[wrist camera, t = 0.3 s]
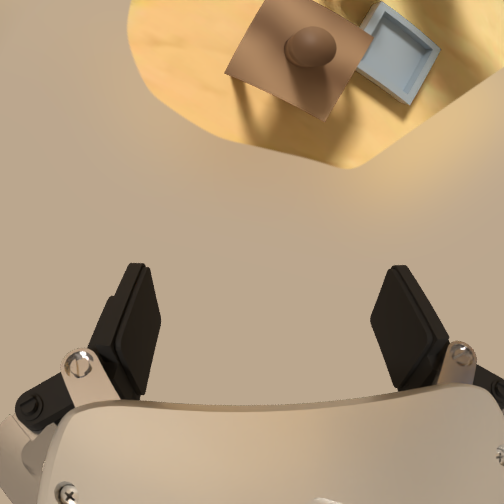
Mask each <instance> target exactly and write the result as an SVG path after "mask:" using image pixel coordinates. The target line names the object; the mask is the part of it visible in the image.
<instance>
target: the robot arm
mask: <svg viewBox="0 0 504 504" xmlns="http://www.w3.org/2000/svg"><path fill="white" fill-rule="evenodd" d="M370 322H371V325H372V328H373V331H374V333H375V336H376V338H377V341H378V343H379V346H380V349H381V352H382V354H383V357H384V360H385V362H386V365H387V368H388V371H389V374H390V377H391V380H392V383H393V385H394V387H395V388H397V389H398V392H394V393H389V394H382V395H376V396H369V397H362V398H354V399H346V400H337V401H328V402H317V403H302V404H285V405H252V406H251V405H248V406H247V405H246V406H245V405H243V406H242V405H240V406H236V405H233V406H232V405H199V404H181V403H166V402H153V401H139V400H140V396H141V395H144V394H145V392H146V387H147V382H148V378H149V373H150V368H151V364H152V359H153V355H154V351H155V346H156V342H157V338H158V334H159V330H160V326H161V316H160V312H159V307H158V303H157V299H156V294H155V291H154V285H153V281H152V277H151V271H150V268H149V267H146V266H145V264H143V263H130V264H129V265H128V267H127V269H126V271H125V273H124V276H123V278H122V280H121V282H120V284H119V286H118V289H117V291H116V293H115V295H114V296H111V297H109V299H108V300H107V303H106V305H105V307H104V309H103V312H102V314H101V316H100V318H99V321H98V323H97V325H96V328H95V330H94V333H93V335H92V337H91V340H90V343H89V345H88V348H77V349H74V350H72V351H70V352H69V353H67V355H66V356H65V357H64V358H63V360H62V362H61V367H60V368H61V372H60V373H58V374H56V375H55V376H53V377H51V378H49V379H48V380H46V381H44V382H42V383H41V384H39V385H37V386H36V387H34V388H32V389H30V390H28V391H26V392H25V393H23V394H22V395H21V396H20V397H19V398H18V400H17V402H16V405H15V414H14V415H13V416H12V415H10V414H9V415H8V416H7V417H6V418H5V420H4V421H3V422H2V423H1V424H0V487H1V488H2V490H3V491H4V493H5V494H6V495H7V497H8V498H9V499H10V500H11V502H12V503H13V504H504V380H503V379H502V378H500V377H499V376H497V375H495V374H493V373H491V372H490V371H488V370H486V369H484V368H483V367H481V366H479V365H477V364H476V363H477V357H476V354H475V352H474V350H473V349H472V348H471V347H470V346H469V345H468V344H466V343H464V342H461V341H454V342H451V343H450V342H449V340H448V339H449V335H448V334H447V332H446V330H445V328H444V327H443V325H442V323H441V321H440V319H439V318H438V316H437V314H436V312H435V311H434V309H433V307H432V306H431V304H430V302H429V300H428V299H427V297H426V296H425V294H424V292H423V291H422V289H421V287H420V286H419V284H418V283H417V281H416V279H415V278H414V276H413V275H412V273H411V272H410V270H409V268H408V267H407V266H406V265H395V266H392V267H391V269H389V270H388V271H387V274H386V276H385V279H384V282H383V285H382V288H381V290H380V293H379V296H378V299H377V301H376V304H375V306H374V309H373V312H372V314H371V318H370ZM44 461H45V464H44V469H43V471H42V467H43V463H44Z"/></svg>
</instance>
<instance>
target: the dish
mask: <svg viewBox="0 0 504 504" xmlns="http://www.w3.org/2000/svg"><path fill="white" fill-rule="evenodd" d="M359 28H361V29H362V30H364V31H365V32H367V33H368V34H370V35H371V36H373V37H374V39H373V40H372V42H371V44H370V46H369V47H368V49H367V51H366V52H365V54H364V56H363V58H362V59H361V61H360V63H359V64H358V66H357V68H356V70H355V71H357V72H358V73H360V74H361V75H363V76H364V77H366V78H367V79H369V80H370V81H372V82H373V83H375V84H376V85H377V86H379V87H380V88H382V89H383V90H384V91H386V92H387V93H388V94H390V95H391V96H393V97H394V98H395V99H396V100H398V101H399V102H401V103H404V104H407V105H410V104H411V103H412V101H413V99H414V97H415V96H416V94H417V92H418V90H419V89H420V87H421V85H422V83H423V82H424V80H425V78H426V76H427V74H428V73H429V71H430V69H431V67H432V65H433V63H434V62H435V60H436V58H437V56H438V54H439V52H440V50H441V49H440V48H439V47H438V46H437V45H436V44H435V43H434V42H433V41H432V40H430V39H429V38H428V37H427V36H426V35H425V34H424V33H422V32H421V31H420V30H419V29H418V28H416V27H415V26H414V25H413V24H412V23H410V22H409V21H408V20H406V19H405V18H404V17H403V16H401V15H400V14H399V13H397V12H396V11H395V10H393V9H392V8H391V7H389V6H388V5H386V4H385V3H384V2H382V1H380V2H378V3H375V4H373V5H372V7H371V8H370V10H369V12H368V13H367V15H366V17H365V18H364V20H363V22H362V23H361V25H360V27H359Z"/></svg>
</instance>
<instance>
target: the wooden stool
mask: <svg viewBox="0 0 504 504" xmlns="http://www.w3.org/2000/svg"><path fill="white" fill-rule="evenodd" d="M373 39H374V37H373V36H371V35H370V34H368V33H367V32H365V31H364V30H362V29H361V28H359V27H357V26H356V25H354V24H353V23H351V22H350V21H348V20H346V19H345V18H343V17H341V16H340V15H338V14H336V13H334V12H333V11H331V10H329V9H327V8H326V7H324V6H322V5H320V4H318V3H316V2H314V1H313V0H265V1H264V3H263V4H262V6H261V7H260V9H259V11H258V12H257V14H256V16H255V18H254V19H253V21H252V23H251V24H250V26H249V28H248V30H247V32H246V33H245V35H244V37H243V39H242V40H241V42H240V44H239V46H238V48H237V50H236V52H235V53H234V55H233V57H232V59H231V61H230V63H229V65H228V67H227V69H226V71H225V74H227V75H229V76H232V77H234V78H237V79H239V80H241V81H244V82H246V83H248V84H250V85H252V86H255V87H257V88H259V89H261V90H263V91H265V92H268V93H270V94H272V95H274V96H276V97H278V98H280V99H282V100H284V101H286V102H288V103H290V104H292V105H294V106H296V107H298V108H300V109H301V110H303V111H305V112H307V113H309V114H311V115H313V116H314V117H316V118H318V119H320V120H322V121H323V122H325V121H326V119H327V118H328V116H329V114H330V113H331V111H332V109H333V107H334V106H335V104H336V102H337V101H338V99H339V97H340V95H341V94H342V92H343V90H344V89H345V87H346V85H347V83H348V82H349V80H350V78H351V76H352V75H353V73H354V71H355V70H356V68H357V66H358V64H359V63H360V61H361V59H362V58H363V56H364V54H365V52H366V51H367V49H368V47H369V46H370V44H371V42H372V40H373Z"/></svg>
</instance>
